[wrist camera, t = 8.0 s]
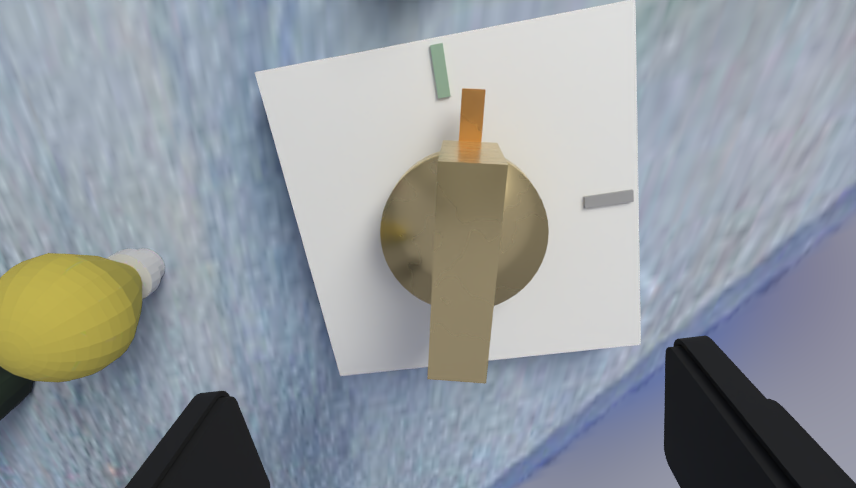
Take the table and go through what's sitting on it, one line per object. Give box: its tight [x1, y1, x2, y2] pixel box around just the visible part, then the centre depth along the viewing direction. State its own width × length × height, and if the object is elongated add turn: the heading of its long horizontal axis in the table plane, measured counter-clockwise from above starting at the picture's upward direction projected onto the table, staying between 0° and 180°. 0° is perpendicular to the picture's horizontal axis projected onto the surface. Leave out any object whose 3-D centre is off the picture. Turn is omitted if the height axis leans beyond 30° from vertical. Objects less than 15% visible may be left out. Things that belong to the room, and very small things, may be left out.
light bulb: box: [0, 248, 165, 382], centre depth 26 cm, size 7×7×10 cm
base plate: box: [255, 0, 641, 376], centre depth 26 cm, size 18×18×3 cm
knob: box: [380, 88, 549, 383], centre depth 21 cm, size 11×8×8 cm
